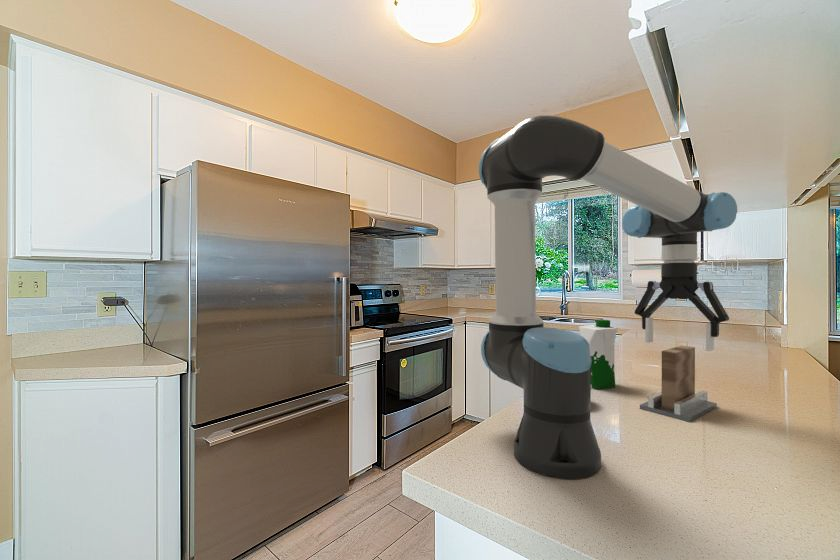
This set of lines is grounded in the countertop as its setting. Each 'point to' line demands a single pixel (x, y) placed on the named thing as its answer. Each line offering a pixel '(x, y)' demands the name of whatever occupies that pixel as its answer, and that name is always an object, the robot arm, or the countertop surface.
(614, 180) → the robot arm
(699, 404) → the track
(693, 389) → the door panel
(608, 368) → the milk carton
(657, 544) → the countertop surface
